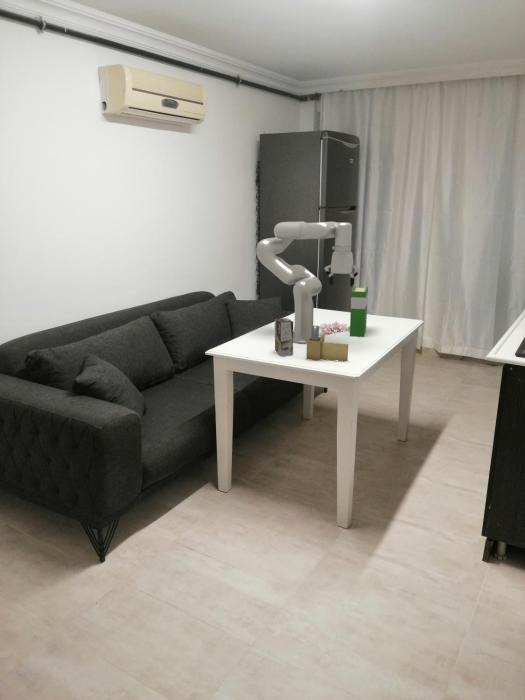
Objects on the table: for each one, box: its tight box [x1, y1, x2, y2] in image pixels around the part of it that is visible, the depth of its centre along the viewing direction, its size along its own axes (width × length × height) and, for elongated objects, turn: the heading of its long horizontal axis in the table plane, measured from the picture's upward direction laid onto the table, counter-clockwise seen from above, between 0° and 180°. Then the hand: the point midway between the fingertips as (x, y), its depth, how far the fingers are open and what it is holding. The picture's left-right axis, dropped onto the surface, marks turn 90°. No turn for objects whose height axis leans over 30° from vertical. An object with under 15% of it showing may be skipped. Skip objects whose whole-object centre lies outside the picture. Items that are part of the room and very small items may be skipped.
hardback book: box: [349, 285, 369, 338], centre depth 295 cm, size 18×7×24 cm, turn 166°
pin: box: [311, 325, 320, 341], centre depth 250 cm, size 3×3×15 cm
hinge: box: [306, 333, 349, 362], centre depth 254 cm, size 18×18×9 cm
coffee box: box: [274, 317, 294, 357], centre depth 258 cm, size 9×6×16 cm
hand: (341, 285), depth 264 cm, fingers open, 9 cm apart
